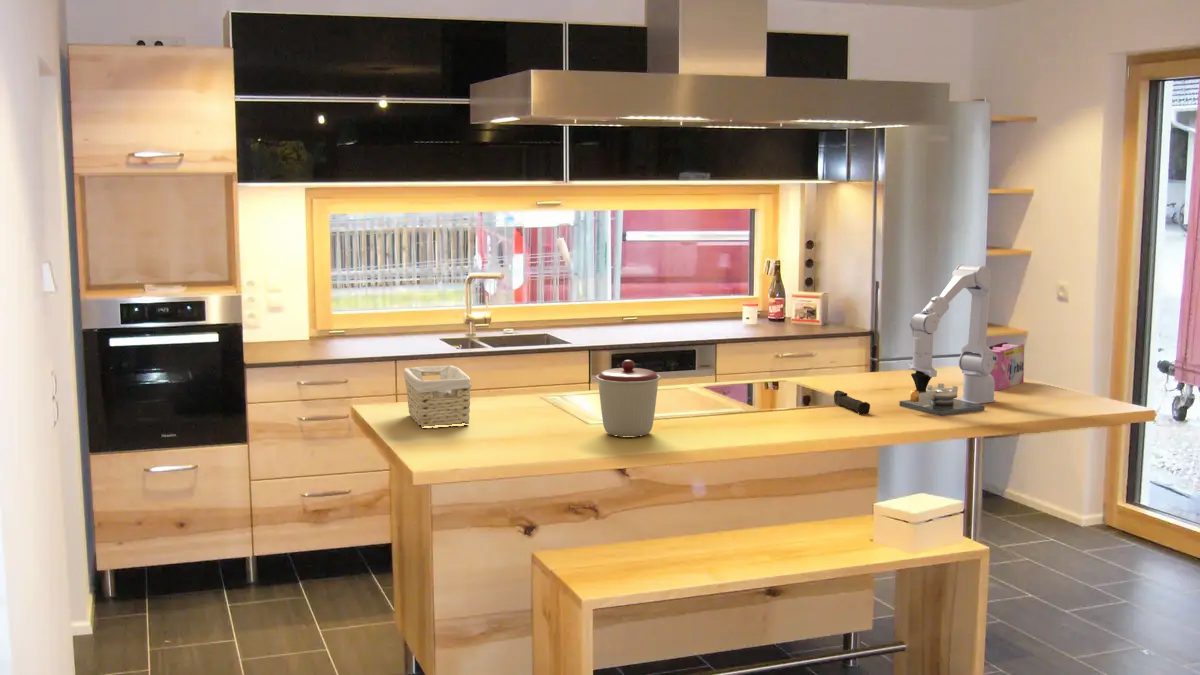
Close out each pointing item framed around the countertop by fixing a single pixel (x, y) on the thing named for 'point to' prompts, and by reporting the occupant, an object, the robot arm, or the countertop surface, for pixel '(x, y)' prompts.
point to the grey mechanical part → (934, 393)
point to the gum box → (1007, 365)
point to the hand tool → (851, 402)
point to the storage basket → (438, 395)
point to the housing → (943, 406)
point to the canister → (628, 399)
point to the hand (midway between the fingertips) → (920, 396)
